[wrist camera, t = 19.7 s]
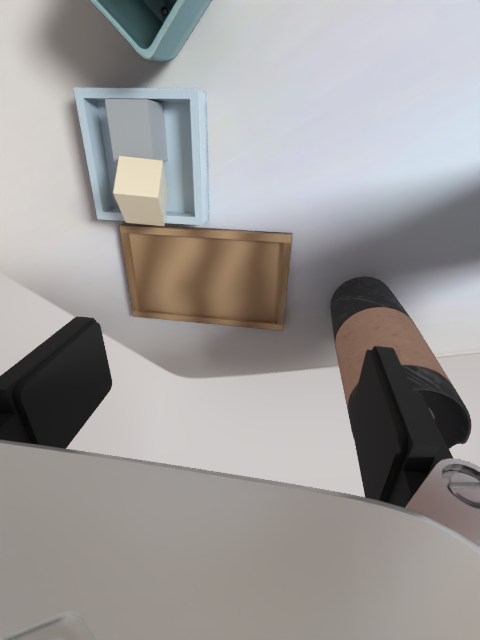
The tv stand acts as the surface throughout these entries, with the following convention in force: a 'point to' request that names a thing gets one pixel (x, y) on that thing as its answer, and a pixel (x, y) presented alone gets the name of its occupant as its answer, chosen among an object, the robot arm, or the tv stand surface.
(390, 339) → the travel mug
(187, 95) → the light blue tray
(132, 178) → the cream rectangular block
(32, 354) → the robot arm
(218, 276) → the walnut tray
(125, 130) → the gray block
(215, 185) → the tv stand surface
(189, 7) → the flower pot
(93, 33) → the tv stand surface
